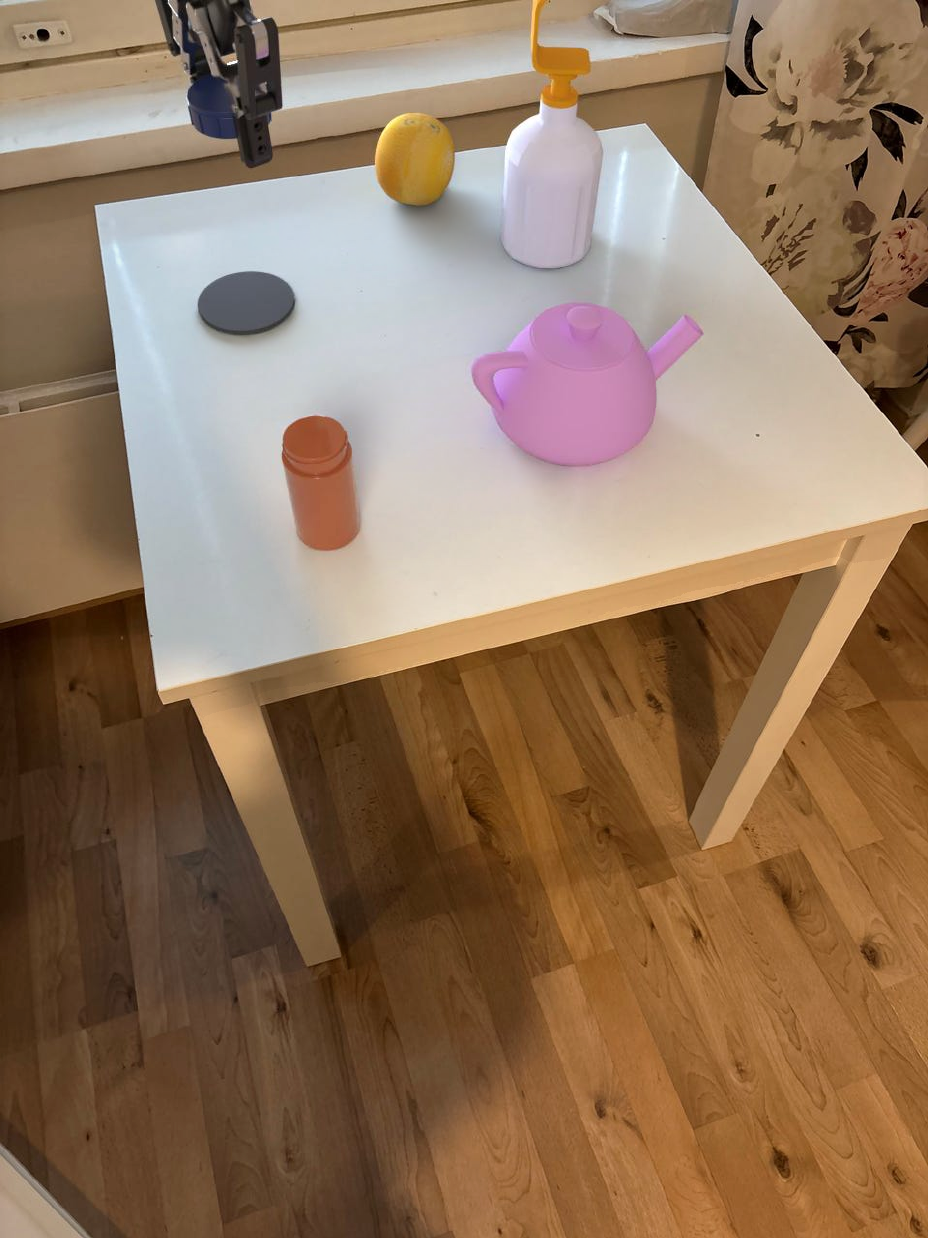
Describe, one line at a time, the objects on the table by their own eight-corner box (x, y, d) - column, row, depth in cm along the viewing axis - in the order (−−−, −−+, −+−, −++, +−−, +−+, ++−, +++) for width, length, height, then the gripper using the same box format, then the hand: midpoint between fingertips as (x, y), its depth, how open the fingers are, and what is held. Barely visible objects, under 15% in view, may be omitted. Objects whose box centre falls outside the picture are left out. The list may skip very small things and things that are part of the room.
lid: (272, 96, 70) (267, 69, 68) (272, 137, 66) (268, 109, 65) (194, 100, 69) (188, 73, 68) (190, 141, 66) (184, 113, 64)
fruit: (453, 221, 98) (453, 145, 92) (375, 219, 98) (369, 143, 92) (455, 174, 103) (455, 99, 97) (381, 172, 103) (376, 97, 97)
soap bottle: (593, 271, 94) (633, -6, 73) (501, 269, 93) (516, -9, 73) (587, 219, 99) (624, -54, 79) (500, 217, 99) (514, -57, 79)
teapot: (720, 445, 80) (753, 342, 71) (498, 500, 76) (504, 399, 67) (649, 343, 87) (672, 239, 79) (443, 389, 83) (443, 285, 75)
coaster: (198, 339, 87) (196, 334, 86) (199, 279, 92) (198, 274, 92) (296, 330, 88) (296, 326, 87) (292, 271, 93) (292, 267, 92)
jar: (299, 555, 73) (281, 466, 65) (292, 507, 75) (274, 416, 68) (364, 545, 73) (354, 456, 65) (355, 498, 76) (344, 407, 68)
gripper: (302, -115, 54) (332, 171, 67) (183, -186, 60) (233, 89, 74) (181, -85, 51) (239, 207, 65) (71, -162, 57) (145, 118, 71)
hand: (236, 143), depth 69 cm, fingers closed on lid, 5 cm apart
